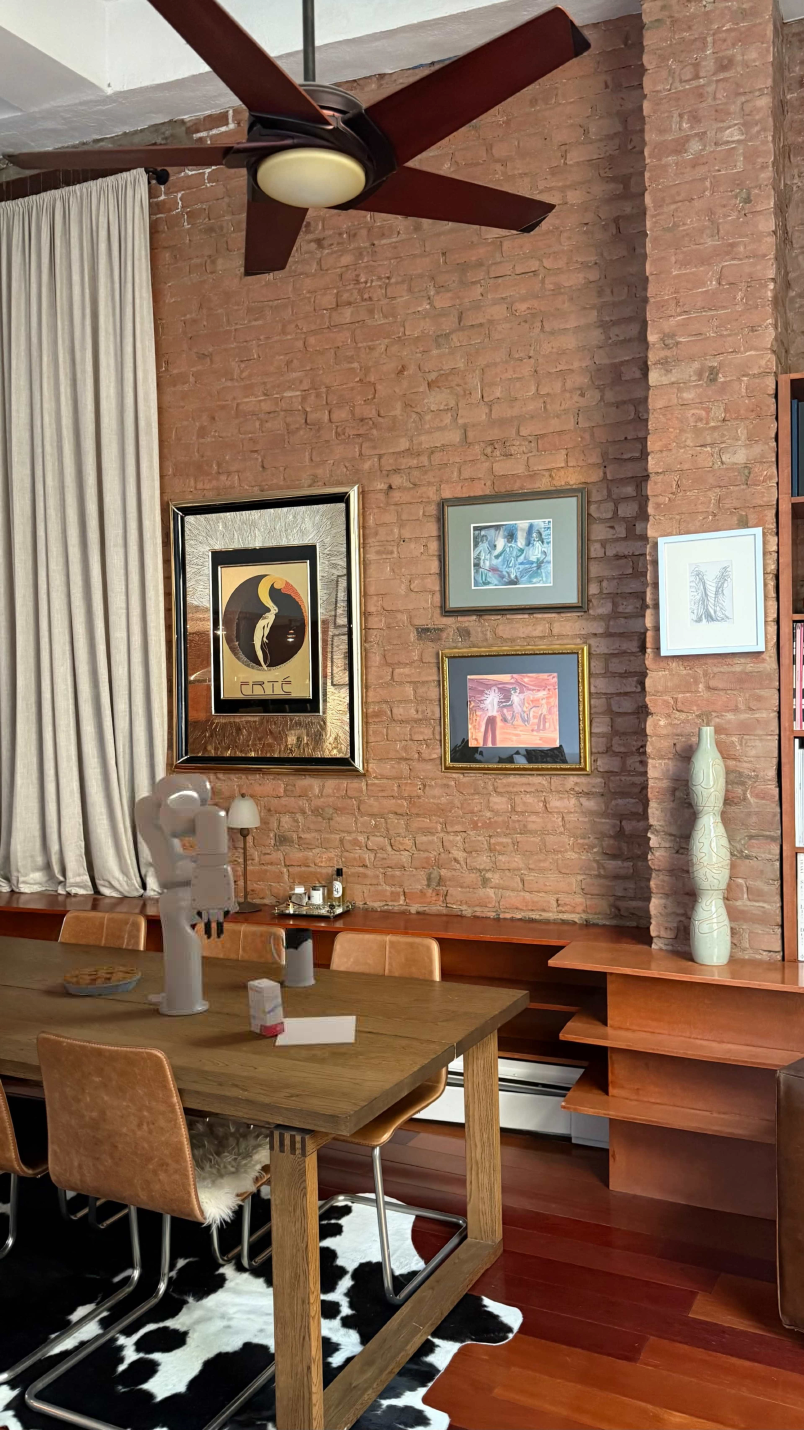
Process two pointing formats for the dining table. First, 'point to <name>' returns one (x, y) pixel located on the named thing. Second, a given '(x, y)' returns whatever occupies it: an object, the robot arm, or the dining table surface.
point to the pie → (102, 980)
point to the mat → (317, 1031)
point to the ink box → (266, 1007)
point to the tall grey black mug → (297, 957)
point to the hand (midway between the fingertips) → (214, 937)
